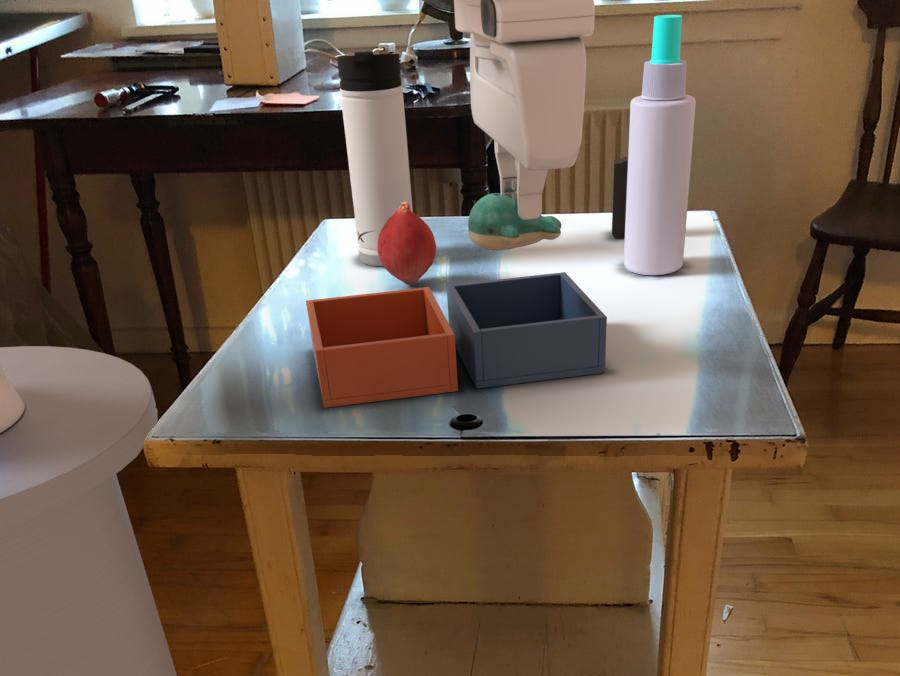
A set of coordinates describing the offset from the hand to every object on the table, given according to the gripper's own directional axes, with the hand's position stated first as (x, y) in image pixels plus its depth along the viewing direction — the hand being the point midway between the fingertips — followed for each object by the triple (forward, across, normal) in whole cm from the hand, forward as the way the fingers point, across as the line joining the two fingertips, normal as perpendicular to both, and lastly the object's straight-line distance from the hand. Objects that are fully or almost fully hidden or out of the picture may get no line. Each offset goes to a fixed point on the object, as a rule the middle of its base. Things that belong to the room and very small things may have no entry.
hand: (520, 209), depth 76 cm
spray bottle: (+12, -19, +18) cm, 29 cm away
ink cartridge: (+12, -31, +20) cm, 39 cm away
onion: (+12, -22, -7) cm, 26 cm away
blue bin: (+12, 0, 0) cm, 12 cm away
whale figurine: (+3, 0, -1) cm, 3 cm away
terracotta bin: (+12, 0, -12) cm, 17 cm away
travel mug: (+12, -32, -8) cm, 35 cm away
